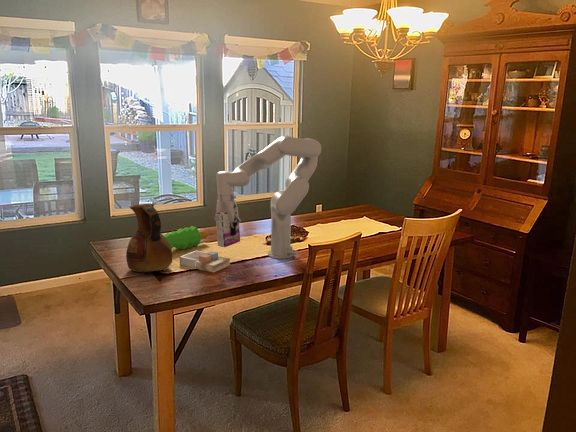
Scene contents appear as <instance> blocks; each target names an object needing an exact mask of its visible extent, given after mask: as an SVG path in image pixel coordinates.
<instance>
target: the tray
mask: <svg viewBox="0 0 576 432" xmlns="http://www.w3.org/2000/svg"><path fill="white" fill-rule="evenodd" d="M206 253H208V252H207V251H201V250H194V251H192V252H191V251H190V252H188V253H186V254H183V255H180V256H179V257H178V258H179V266H182V267H187V268H192V269H196V262H197V261H199V256H200V255H203V254H206Z"/></svg>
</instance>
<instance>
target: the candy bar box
mask: <svg viewBox="0 0 576 432" xmlns="http://www.w3.org/2000/svg"><path fill="white" fill-rule="evenodd" d="M214 214H215V216H214V217H215V219H216V221H215V228H216V240H217V246H218V247H220V248H227V247H229V246H232V245H235V244H238V243H240V242H241V235H240V234H241V233H240V223H239V224H238V225H237V227H236V235H234V236H231V228H232V227H231V224H230V222H229V221H228V215H227V212H217V213H216V212H214ZM235 221H237V220H235Z"/></svg>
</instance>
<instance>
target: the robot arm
mask: <svg viewBox="0 0 576 432" xmlns="http://www.w3.org/2000/svg"><path fill="white" fill-rule="evenodd" d="M322 150H323V149H322V144H321V143H320V142H319V141H318V140H316V139H313V138H310V137H305V138H301V137H294V136H293V137H292V136H289V135H281V136H280V137H277V139H275V140H273V142H271V143H270V144H268V145H267V146H266V147H265V148H264V149H262V150H261V151H259V152H258V153H255V154H254V155H253V156H251V157H250V158H248V159H247V160H245V161H244V162H242V163H241V164H240V165H238V166H237V167H236V168H235V169H234V170H233V171H231V170H220V171H218V172H217V173H216V175H215V176H216V189H217V201H216V210H215V211H216V212H215V213H217V212H227V215H228V221H229V222H230V224H231V227H232V228H231V236H234V235H236V227H237V225H238V224H239V225H240V223H241V222H242V219H241V218H240V217H239V209H238V204H237V203H238V202H237V201H236V195H235V193H234V190H235V189H234V187H239V188H242V187H246V186H247V185H249V184H250V182H251V177H252V176H253V175H255V174H256V173H258V172H259V171H262V170H266V169H269V168H272V166H274V165H275V164H277V162H279V161H280V160H282V159H283V158H284V157H286V156H291V157H295V158H296V157H299V160H298V163H297V165H296V166H295V167H294V169H293V171H291V173H290V174H289V175H288V177H287V178H286V179H285V182H284V184H285V190H284V191H281V190H279V191H277V192H274V193H273V195H272V196H271V198H270V213H271V214H270V215H271V216H270V217H271V218H270V220H271V221H270V223H271V224H270V225H271V226H270V250H269V251H268V252H267V256H268V257H270V258H272V259H278V260H279V259H281V260H282V259H290V258H292V257H293V256H296V255H297V254H298V252H297V251H298V250H297V249H293V246H292V245H291V234H292V233H291V231H292V230H291V228H292V227H291V225H292V215H291V214H292V213H294V211H295V210H296V209H297V208H298V206H300V203H302V201H303V200H304V198H305V197H306V195H307V194H308V192H309V190H310V189H309V188H310V184H309V179H311V177H312V175H313V174H314V172H315V171H316V169H317V166H318V160H319V159H318V158H319V156H320V154H321V153H322ZM213 220H214V221H215V222H216V219H215V216H214V217H213ZM235 220H237V221H235Z"/></svg>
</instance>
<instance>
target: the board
mask: <svg viewBox="0 0 576 432" xmlns="http://www.w3.org/2000/svg"><path fill="white" fill-rule="evenodd" d="M229 266H231V258H229V257H222V256H219V255H218V258H216V259H213V260H212V259H211V261H209V262H206V263H205V262H200V261H197V262H196V268H195V269H196V270H201V271H205V272H208V273H209V272H210V273H216V272H219V271H221V270H223V269H224V268H227V267H229Z"/></svg>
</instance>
